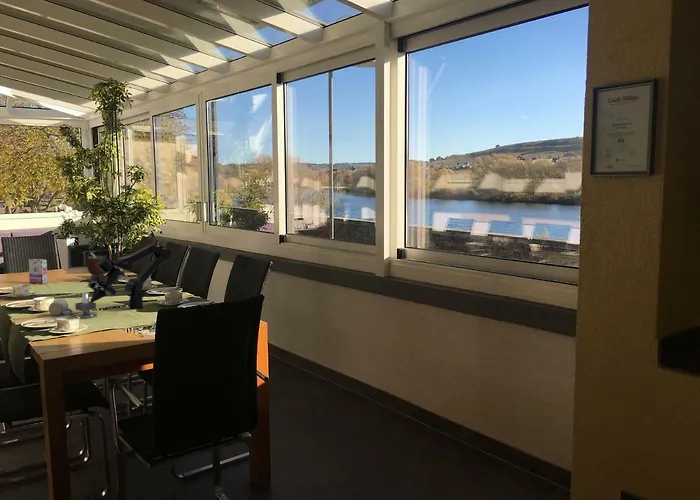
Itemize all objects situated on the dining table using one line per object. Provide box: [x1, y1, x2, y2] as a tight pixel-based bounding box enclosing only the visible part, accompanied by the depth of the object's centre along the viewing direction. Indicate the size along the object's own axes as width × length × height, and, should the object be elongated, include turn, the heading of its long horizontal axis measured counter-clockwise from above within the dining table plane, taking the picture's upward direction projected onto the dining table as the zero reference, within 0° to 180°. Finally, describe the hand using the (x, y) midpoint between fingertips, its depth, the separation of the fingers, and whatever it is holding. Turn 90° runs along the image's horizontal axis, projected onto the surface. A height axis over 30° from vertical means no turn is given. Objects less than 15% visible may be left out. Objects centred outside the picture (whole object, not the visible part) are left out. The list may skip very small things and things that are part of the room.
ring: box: [74, 301, 97, 312], centre depth 301 cm, size 7×7×3 cm
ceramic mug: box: [48, 298, 74, 317], centre depth 305 cm, size 11×8×8 cm
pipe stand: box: [74, 291, 98, 319], centre depth 301 cm, size 10×10×12 cm
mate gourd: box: [86, 252, 108, 276], centre depth 415 cm, size 16×14×20 cm
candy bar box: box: [28, 258, 49, 285], centre depth 405 cm, size 11×5×16 cm, turn 73°
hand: (91, 301), depth 303 cm, fingers closed, pressing on ring
